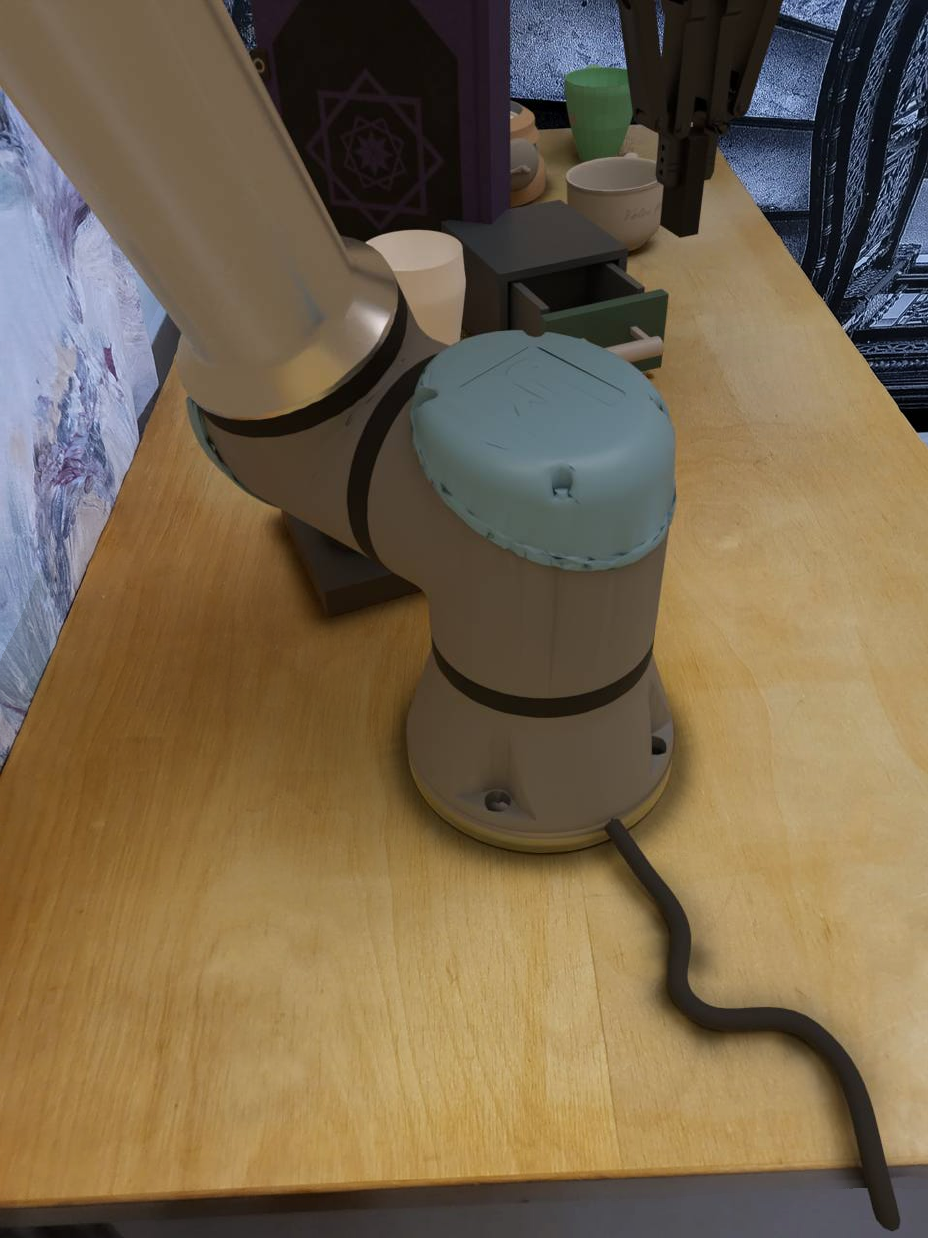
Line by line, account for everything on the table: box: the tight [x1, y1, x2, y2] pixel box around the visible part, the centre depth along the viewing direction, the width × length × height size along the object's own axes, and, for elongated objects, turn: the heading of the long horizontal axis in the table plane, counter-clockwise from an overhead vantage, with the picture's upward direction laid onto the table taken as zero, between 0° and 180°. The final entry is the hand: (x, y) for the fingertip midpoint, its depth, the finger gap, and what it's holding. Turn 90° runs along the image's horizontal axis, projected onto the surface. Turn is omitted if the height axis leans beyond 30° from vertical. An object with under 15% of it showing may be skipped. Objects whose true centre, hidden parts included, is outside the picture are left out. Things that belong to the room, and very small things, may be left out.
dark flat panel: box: [280, 509, 423, 618], centre depth 72 cm, size 12×10×4 cm
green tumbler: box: [563, 64, 633, 163], centre depth 134 cm, size 15×10×10 cm
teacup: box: [565, 152, 664, 252], centre depth 112 cm, size 14×11×8 cm
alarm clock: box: [510, 99, 547, 209], centre depth 123 cm, size 17×9×23 cm
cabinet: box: [441, 199, 629, 337], centre depth 97 cm, size 14×13×9 cm
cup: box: [366, 230, 466, 346], centre depth 88 cm, size 9×9×12 cm
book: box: [248, 0, 512, 243], centre depth 97 cm, size 24×6×30 cm, turn 69°
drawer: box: [508, 261, 670, 373], centre depth 89 cm, size 17×12×7 cm
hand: (678, 229), depth 71 cm, fingers closed
